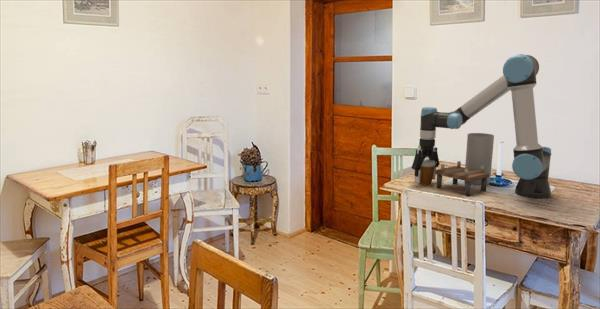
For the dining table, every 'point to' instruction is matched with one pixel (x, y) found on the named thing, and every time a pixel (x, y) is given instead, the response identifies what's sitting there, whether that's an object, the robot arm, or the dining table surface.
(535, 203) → the dining table surface
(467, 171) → the peg shelf stand
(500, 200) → the dining table surface
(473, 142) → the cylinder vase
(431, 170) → the disposable coffee cup
